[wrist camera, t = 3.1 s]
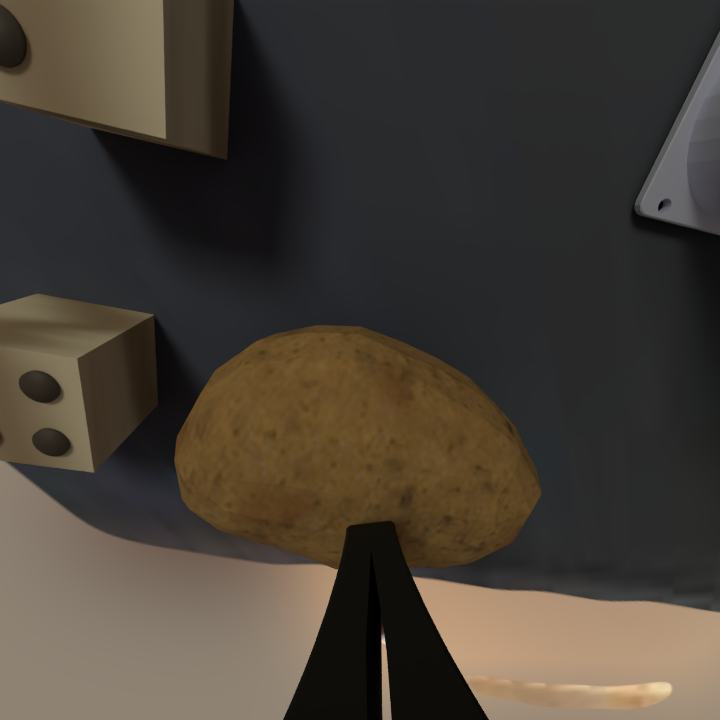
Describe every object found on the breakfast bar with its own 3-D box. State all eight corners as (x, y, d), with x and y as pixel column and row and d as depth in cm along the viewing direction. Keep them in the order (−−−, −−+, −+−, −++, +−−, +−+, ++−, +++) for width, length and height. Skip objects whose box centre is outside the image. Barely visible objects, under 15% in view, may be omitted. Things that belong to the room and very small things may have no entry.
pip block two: (235, -9, 11) (155, -156, 7) (227, 160, 13) (162, 138, 9) (74, -56, 11) (-135, -252, 6) (91, 128, 13) (-56, 86, 8)
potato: (449, 490, 21) (502, 642, 14) (216, 439, 19) (134, 587, 12) (526, 349, 17) (656, 459, 10) (244, 267, 15) (146, 328, 8)
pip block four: (154, 314, 16) (73, 360, 11) (158, 404, 18) (91, 475, 13) (38, 293, 15) (-98, 332, 11) (56, 388, 17) (-52, 456, 13)
